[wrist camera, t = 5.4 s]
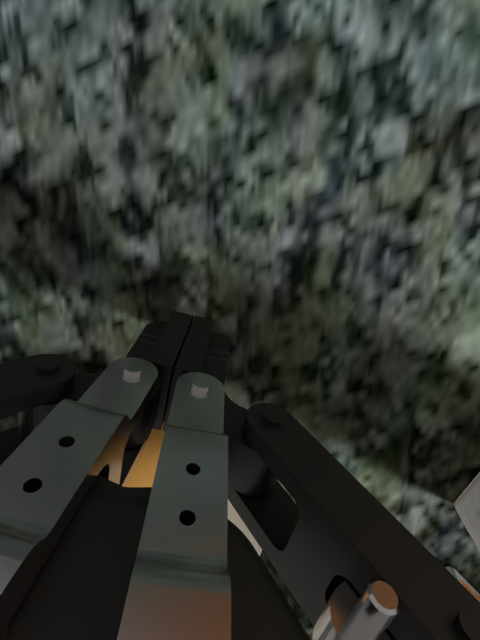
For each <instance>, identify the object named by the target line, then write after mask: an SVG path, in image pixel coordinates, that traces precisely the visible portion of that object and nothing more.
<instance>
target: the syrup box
mask: <svg viewBox="0 0 480 640" xmlns="http://www.w3.org/2000/svg"><path fill="white" fill-rule="evenodd" d="M454 505H455V509H456V511H457V512H458V514H459V516H460V518H461V520H462V521H463V523H464V525H465V527H466V529H467V530H468V532H469V534H470V536H471V537H472V539H473V541H474V542H475V544H476V546H477V548H478V550H479V552H480V472H479V473H478V475H477V476H476V477H475V478H474V479H473V480H472V482H471V483H470V484H469V485H468V487H467V488H466V489H465V490H464V491H463V492H462V494H461V495H460V496H459V497H458V499H457V500H456V501H455V502H454Z"/></svg>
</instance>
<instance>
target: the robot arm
mask: <svg viewBox="0 0 480 640" xmlns="http://www.w3.org/2000/svg"><path fill="white" fill-rule="evenodd" d="M193 318H194V320H193ZM213 325H214V320H211V319H207V318H203V317H198V316H195V317H194V315H190V314H185V313H181V312H177V311H173V313H172V315H171V317H170V319H169V321H168V322H167V323H166V322H162V321H157V320H156V321H154V322H152V323H150V324H148V325H146V326H145V328H144V330H143V331H142V333H141V334H140V336H139V337H138V339H137V340H136V342H135V344H134V345H133V347H132V348H131V350H130V351H129V353H128V354H127V356H126V358H121V359H117V360H115V361H113V362H112V363H110V364H109V366H108V367H107V368H106V369H105V370H104V371H103V372H101V373H76V366H75V363H74V362H73V361H72V360H71V359H69V358H67V357H64V356H61V355H56V354H41V355H35V356H31V357H27V358H23V359H19V360H15V361H11V362H7V363H3V364H0V419H3V418H6V417H9V416H11V415H14V414H17V413H18V426H16V427H13V428H10V429H8V430H5V431H2V432H0V640H311V639H310V638H309V636H308V634H307V633H306V631H305V629H304V628H303V626H302V625H301V623H300V621H299V620H298V618H297V616H296V615H295V613H294V612H293V610H292V608H291V607H290V605H289V603H288V602H287V600H286V599H285V597H284V595H283V594H282V592H281V590H280V589H279V587H278V586H277V584H276V582H275V581H274V579H273V577H272V576H271V574H270V573H269V571H268V569H267V568H266V566H265V564H264V563H263V561H262V560H261V558H260V556H259V555H258V553H257V551H256V550H255V548H254V547H253V545H252V544H251V542H250V541H249V539H248V538H247V537H246V536H245V534H244V533H243V532H242V531H241V530H240V529H239V528H238V527H237V526H236V525H235V524H233V523H232V522H231V521H230V520H228V500H229V501H230V503H231V504H232V506H233V507H234V509H235V510H236V512H237V513H238V515H239V516H240V518H241V519H242V521H243V522H244V524H245V525H246V527H247V528H248V529H249V531H250V532H251V534H252V535H253V537H254V538H255V540H256V541H257V543H258V544H259V546H260V547H261V549H262V550H263V552H264V553H265V555H266V556H267V558H268V559H269V561H270V562H271V564H272V565H273V567H274V568H275V570H276V571H277V573H278V574H279V576H280V577H281V579H282V580H283V582H284V583H285V585H286V586H287V588H288V589H289V591H290V592H291V594H292V595H293V596H294V598H295V599H296V601H297V602H298V604H299V605H300V607H301V608H302V610H303V611H304V613H305V614H306V616H307V617H308V619H309V620H310V622H311V623H312V625H313V626H314V630H313V640H480V602H479V601H478V600H477V599H476V598H475V597H474V596H473V595H472V594H471V593H470V592H469V591H468V590H467V589H466V588H465V587H464V586H463V585H462V584H461V583H460V582H459V581H458V580H457V579H456V578H455V577H454V576H453V575H452V574H451V573H450V572H449V571H448V570H447V569H446V568H445V567H444V566H443V565H442V564H441V563H440V562H439V561H438V560H437V559H436V558H435V557H434V556H433V555H432V554H431V553H430V552H429V551H428V550H427V549H426V548H425V547H424V546H423V545H422V544H421V543H420V542H419V541H418V540H417V539H416V538H415V537H414V536H413V535H412V534H411V533H410V532H409V531H408V530H407V529H406V528H405V527H404V526H403V525H402V524H401V523H400V522H399V521H398V520H397V519H396V518H395V517H394V516H393V515H392V514H391V513H390V512H389V511H388V510H387V509H386V508H385V507H384V506H383V505H382V504H381V503H380V502H379V501H378V500H377V499H376V498H375V497H373V496H372V495H371V494H370V493H369V492H368V491H367V490H366V489H365V488H364V487H363V486H362V485H361V484H360V483H359V482H358V481H357V480H356V479H355V478H354V477H353V476H352V475H351V474H350V473H349V472H348V471H347V470H346V469H345V468H344V467H343V466H342V465H341V464H340V463H339V462H338V461H337V460H336V459H335V458H334V457H333V456H332V455H331V454H330V453H329V452H328V451H327V450H326V449H325V448H324V447H323V446H322V445H321V444H320V443H319V442H318V441H317V440H316V439H315V438H314V437H313V436H312V435H311V434H310V433H309V432H308V431H307V430H306V429H305V428H304V427H303V426H302V425H301V424H300V423H299V422H298V421H297V420H296V419H295V418H294V417H293V416H292V415H291V414H290V413H289V412H287V411H286V410H285V409H283V408H281V407H279V406H277V405H274V404H269V403H258V404H255V405H253V406H251V407H250V408H249V409H248V410H247V409H245V408H243V407H241V406H239V405H237V404H235V403H234V402H233V401H231V400H230V399H229V398H228V396H227V395H226V393H225V390H224V381H225V374H226V368H227V362H228V355H229V349H230V344H229V342H228V340H227V338H226V336H221V335H217V334H213V333H212V330H213ZM164 419H165V421H164ZM163 422H164V426H163V431H165V432H164V437H163V441H162V445H161V450H160V454H159V459H158V463H157V467H156V472H155V476H154V481H153V485H152V487H126V486H127V484H128V482H129V480H130V478H131V476H132V474H133V472H134V470H135V468H136V466H137V464H138V462H139V460H140V458H141V456H142V454H143V452H144V450H145V447H146V441H147V439H148V437H149V436H150V433H151V430H152V429H157V430H161V427H162V425H163ZM277 479H278V480H279V481H280V482H281V483H282V485H283V486H284V487H285V488H286V489H287V491H288V492H289V493H290V494H291V496H292V497H293V498H294V500H295V501H296V503H297V505H296V504H295V502H294V501H293V500H292V499H291V497H290V496H289V495H288V494H287V493H286V491H285V490H284V489H283V488H282V486H281V485H280V484H279V483H278V481H277Z"/></svg>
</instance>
